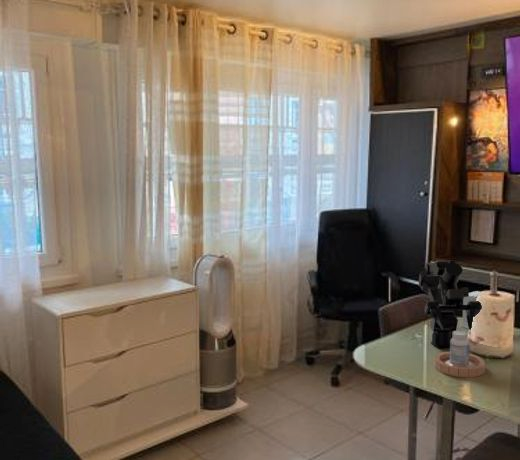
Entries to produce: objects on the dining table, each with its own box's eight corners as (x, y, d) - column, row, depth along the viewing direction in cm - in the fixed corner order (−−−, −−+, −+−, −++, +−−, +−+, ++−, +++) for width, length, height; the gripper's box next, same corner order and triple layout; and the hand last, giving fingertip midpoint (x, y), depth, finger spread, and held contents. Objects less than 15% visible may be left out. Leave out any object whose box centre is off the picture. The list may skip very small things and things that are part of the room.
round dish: (466, 357, 192) (467, 349, 192) (494, 374, 177) (494, 366, 177) (426, 361, 189) (426, 353, 189) (450, 379, 174) (451, 371, 173)
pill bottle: (457, 359, 187) (458, 328, 186) (472, 365, 182) (473, 333, 181) (445, 363, 184) (446, 331, 183) (460, 369, 179) (461, 336, 177)
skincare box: (475, 324, 229) (477, 290, 227) (487, 328, 224) (488, 293, 222) (461, 327, 226) (462, 292, 224) (472, 331, 220) (473, 296, 218)
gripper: (427, 279, 189) (433, 318, 180) (481, 279, 188) (491, 318, 178) (421, 294, 198) (427, 333, 189) (473, 294, 197) (482, 333, 187)
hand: (456, 329), depth 185 cm, fingers open, 9 cm apart
